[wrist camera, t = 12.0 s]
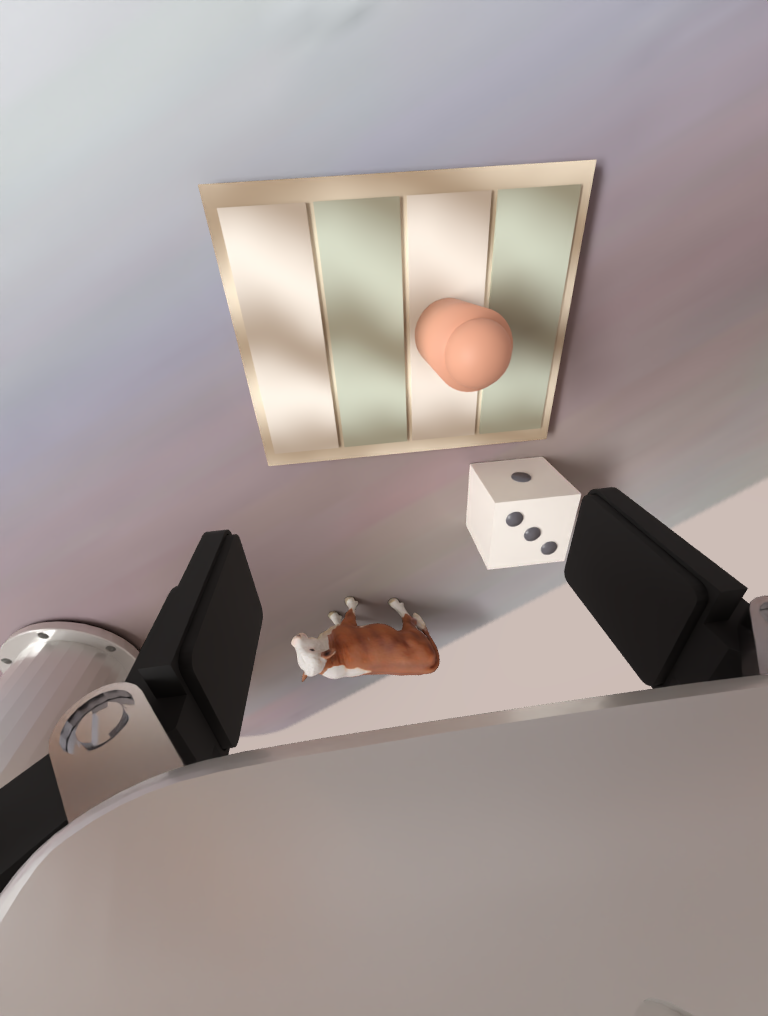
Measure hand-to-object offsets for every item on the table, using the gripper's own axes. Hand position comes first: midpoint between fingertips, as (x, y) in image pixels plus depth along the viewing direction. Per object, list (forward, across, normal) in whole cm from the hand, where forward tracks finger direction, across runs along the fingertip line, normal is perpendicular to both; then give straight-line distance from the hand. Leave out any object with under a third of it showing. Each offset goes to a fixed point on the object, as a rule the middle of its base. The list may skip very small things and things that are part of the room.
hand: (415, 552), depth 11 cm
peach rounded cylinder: (+18, -5, -3) cm, 19 cm away
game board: (+19, -3, -3) cm, 19 cm away
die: (+19, -11, +10) cm, 24 cm away
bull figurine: (+20, +2, +22) cm, 30 cm away
